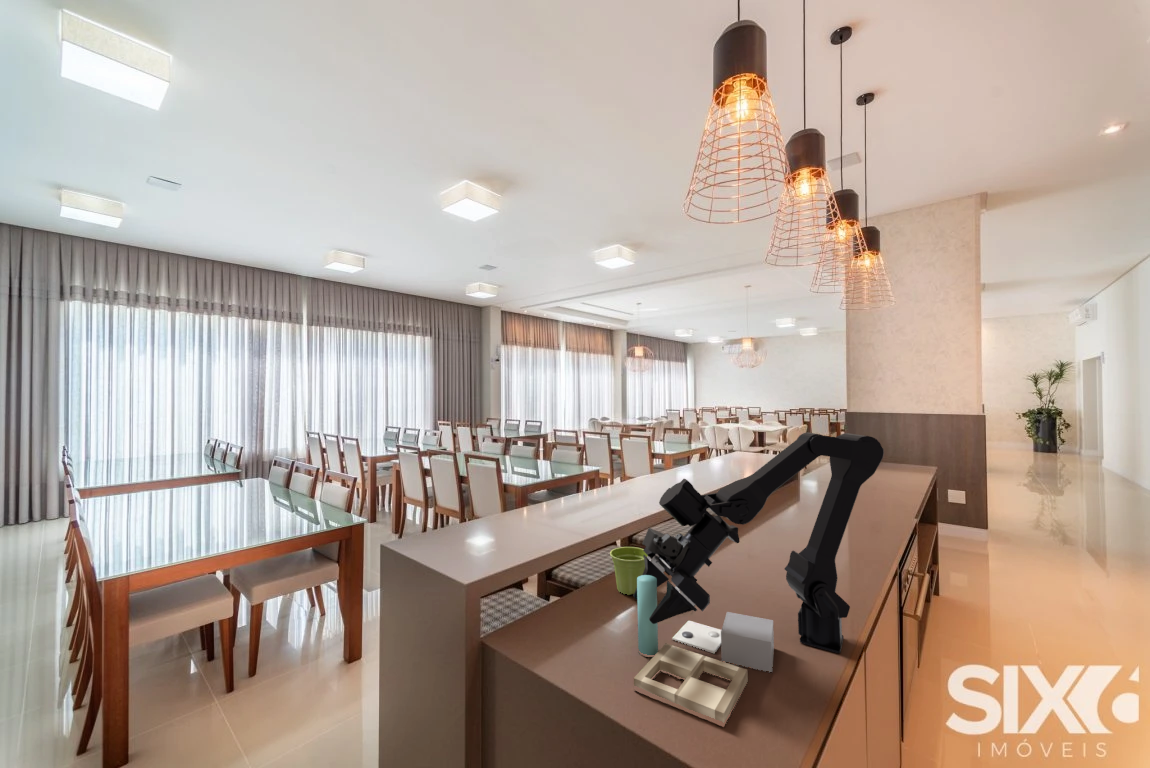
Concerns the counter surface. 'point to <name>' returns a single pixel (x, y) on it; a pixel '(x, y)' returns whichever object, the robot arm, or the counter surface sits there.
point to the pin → (647, 614)
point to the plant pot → (628, 567)
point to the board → (694, 681)
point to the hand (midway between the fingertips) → (642, 609)
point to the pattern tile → (699, 636)
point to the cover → (748, 641)
